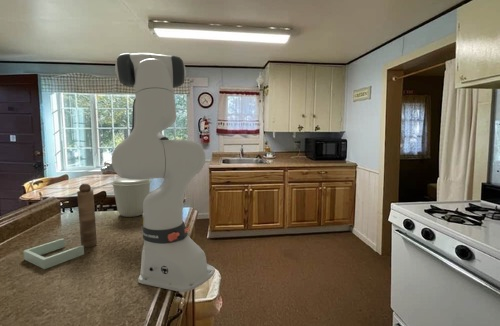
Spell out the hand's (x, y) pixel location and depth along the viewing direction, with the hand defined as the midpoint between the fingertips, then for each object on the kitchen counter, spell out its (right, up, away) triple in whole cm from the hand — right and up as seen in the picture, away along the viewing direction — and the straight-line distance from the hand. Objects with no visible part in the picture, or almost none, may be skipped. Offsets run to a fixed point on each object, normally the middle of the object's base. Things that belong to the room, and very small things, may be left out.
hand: (110, 172), depth 110 cm
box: (-11, -28, -16) cm, 33 cm away
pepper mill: (-5, -26, -6) cm, 27 cm away
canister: (-4, -22, +32) cm, 39 cm away
